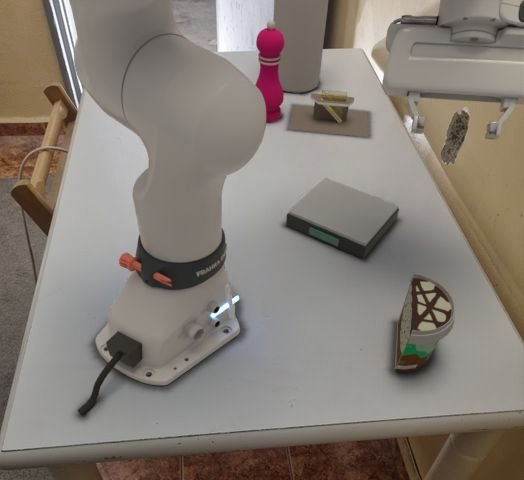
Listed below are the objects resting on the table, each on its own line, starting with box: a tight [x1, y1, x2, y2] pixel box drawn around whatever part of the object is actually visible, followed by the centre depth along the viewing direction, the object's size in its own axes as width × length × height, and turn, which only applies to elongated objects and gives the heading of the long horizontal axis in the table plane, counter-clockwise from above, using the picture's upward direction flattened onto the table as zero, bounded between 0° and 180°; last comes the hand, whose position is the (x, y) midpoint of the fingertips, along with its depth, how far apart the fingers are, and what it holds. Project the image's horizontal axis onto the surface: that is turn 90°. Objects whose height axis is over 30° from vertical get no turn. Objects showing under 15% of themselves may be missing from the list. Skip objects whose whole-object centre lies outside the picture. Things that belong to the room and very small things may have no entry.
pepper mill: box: [254, 19, 285, 123], centre depth 114 cm, size 7×7×20 cm
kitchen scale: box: [285, 177, 400, 260], centre depth 96 cm, size 14×16×3 cm
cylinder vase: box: [272, 0, 329, 94], centre depth 124 cm, size 12×12×25 cm
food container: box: [394, 272, 456, 373], centre depth 74 cm, size 12×6×10 cm, turn 168°
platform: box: [288, 89, 369, 138], centre depth 119 cm, size 12×18×7 cm, turn 83°
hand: (454, 135), depth 67 cm, fingers open, 8 cm apart
